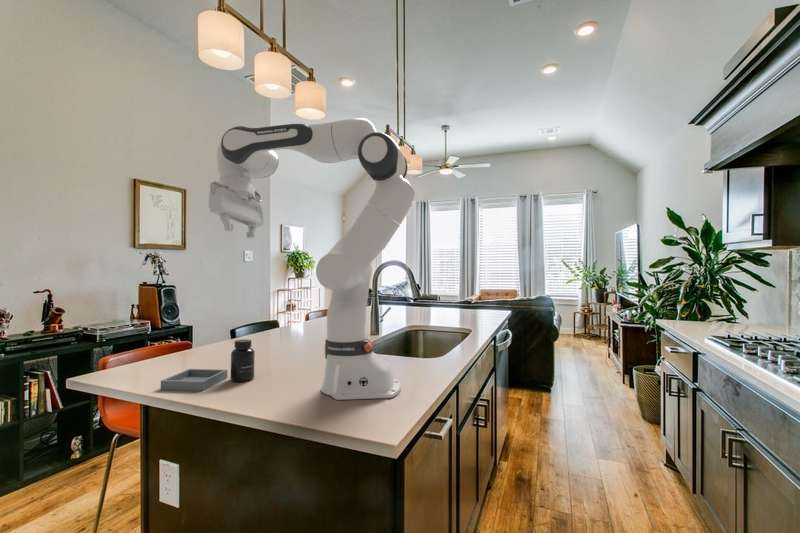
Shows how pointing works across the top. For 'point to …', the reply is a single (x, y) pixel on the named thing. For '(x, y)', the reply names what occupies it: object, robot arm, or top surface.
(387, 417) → the top surface
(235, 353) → the supplement bottle
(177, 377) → the tray
